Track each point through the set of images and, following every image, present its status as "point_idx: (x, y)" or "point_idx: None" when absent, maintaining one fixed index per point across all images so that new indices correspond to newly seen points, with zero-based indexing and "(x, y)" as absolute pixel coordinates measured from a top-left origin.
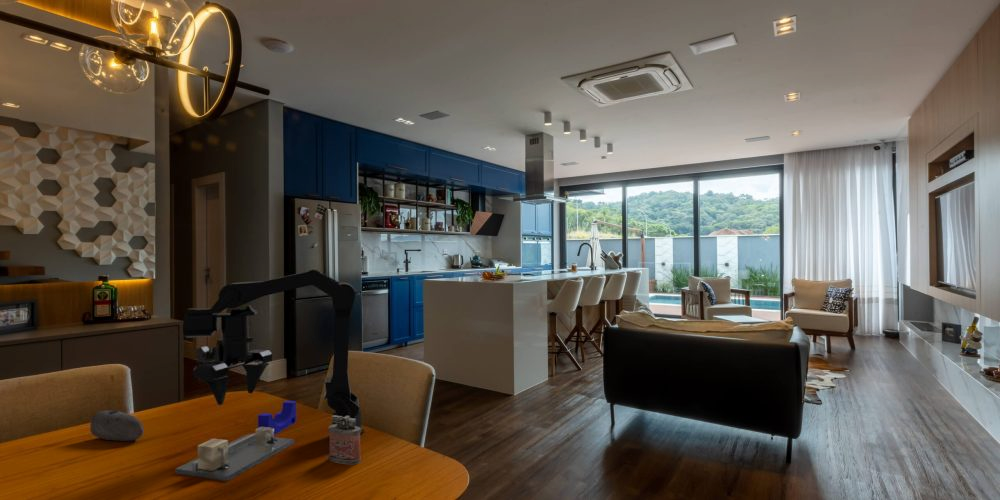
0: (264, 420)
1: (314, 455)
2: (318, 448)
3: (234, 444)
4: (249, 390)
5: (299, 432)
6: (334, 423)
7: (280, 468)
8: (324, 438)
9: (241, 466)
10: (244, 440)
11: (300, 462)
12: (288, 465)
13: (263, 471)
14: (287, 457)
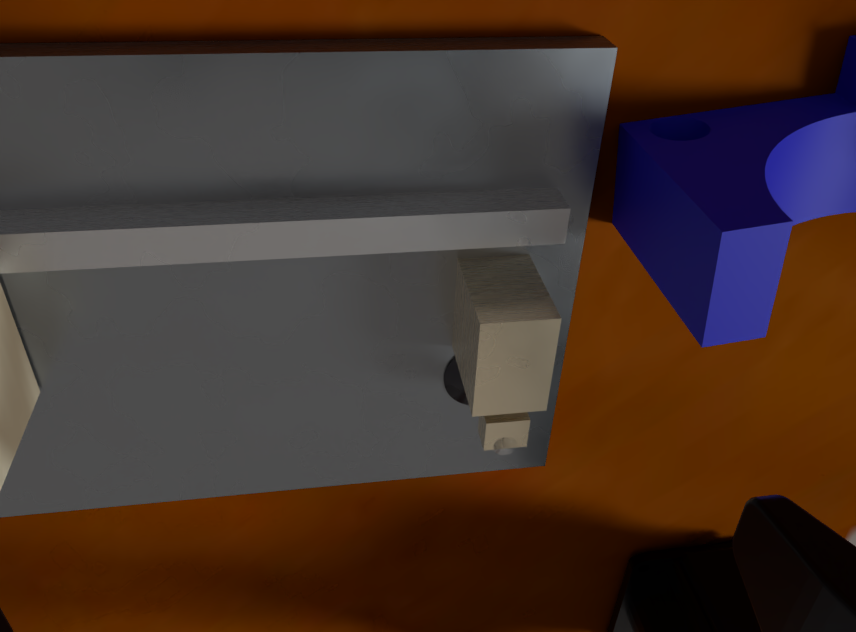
0: (683, 276)
1: (404, 614)
2: (492, 581)
3: (256, 254)
4: (770, 559)
5: (738, 348)
6: (697, 629)
7: (207, 593)
8: (635, 527)
9: (60, 493)
10: (375, 250)
11: (308, 616)
12: (254, 599)
13: (135, 557)
14: (339, 538)
